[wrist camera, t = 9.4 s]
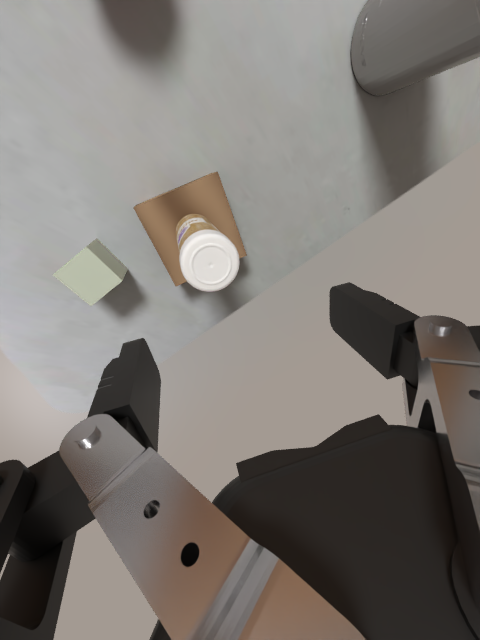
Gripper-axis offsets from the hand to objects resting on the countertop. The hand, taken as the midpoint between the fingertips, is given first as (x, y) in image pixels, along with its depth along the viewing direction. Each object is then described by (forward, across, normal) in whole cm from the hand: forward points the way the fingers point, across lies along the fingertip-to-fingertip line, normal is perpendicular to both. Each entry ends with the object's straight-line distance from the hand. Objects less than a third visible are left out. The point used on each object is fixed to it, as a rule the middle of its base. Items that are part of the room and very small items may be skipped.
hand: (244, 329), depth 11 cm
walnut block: (+27, 0, 0) cm, 27 cm away
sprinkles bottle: (+23, 0, 0) cm, 23 cm away
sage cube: (+27, +13, +2) cm, 30 cm away
